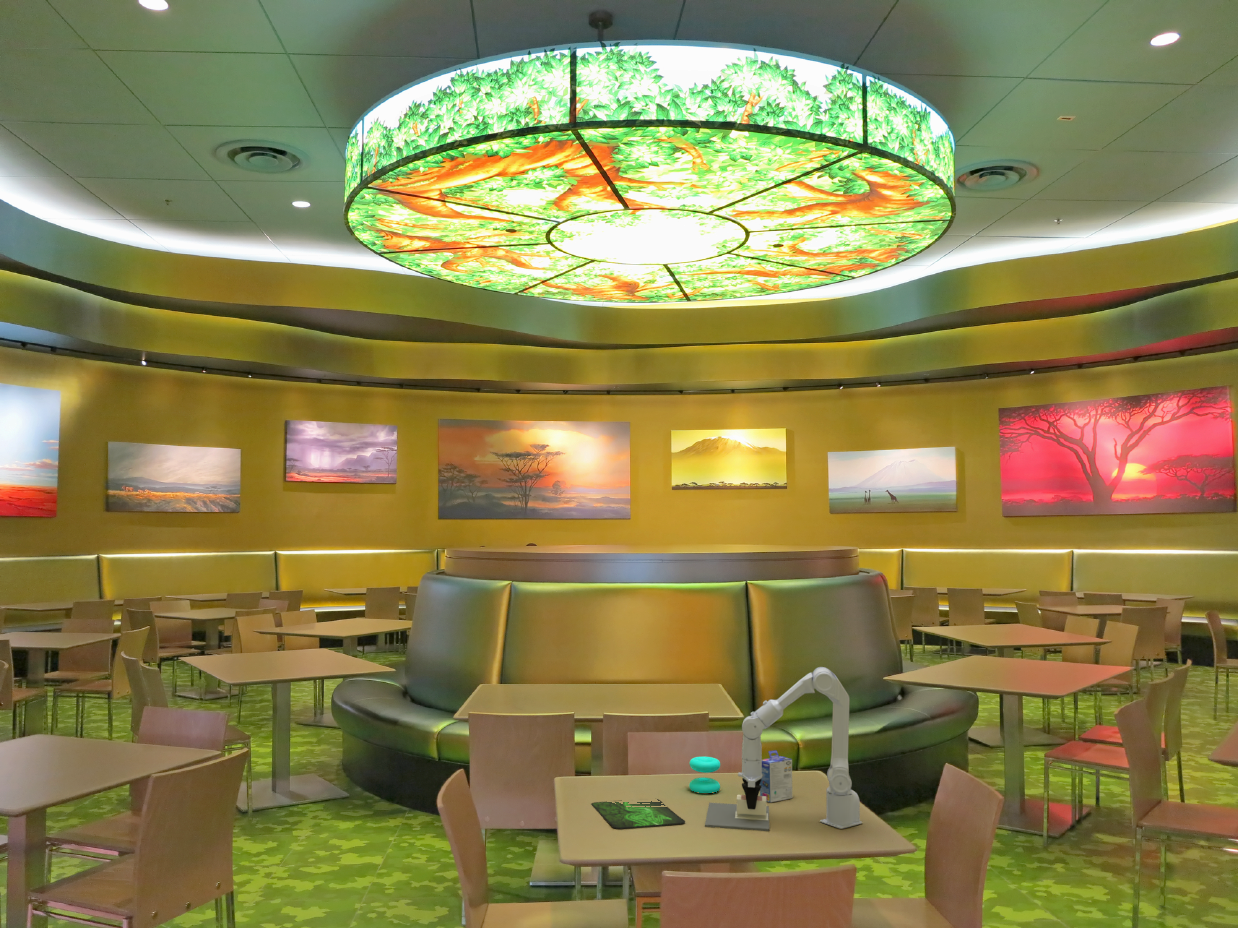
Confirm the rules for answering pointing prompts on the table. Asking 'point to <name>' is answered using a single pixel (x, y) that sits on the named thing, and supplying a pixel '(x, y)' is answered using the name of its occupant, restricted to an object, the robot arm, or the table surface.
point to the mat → (735, 818)
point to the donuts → (705, 767)
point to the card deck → (744, 809)
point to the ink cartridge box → (776, 778)
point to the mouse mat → (636, 815)
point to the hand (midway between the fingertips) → (751, 805)
